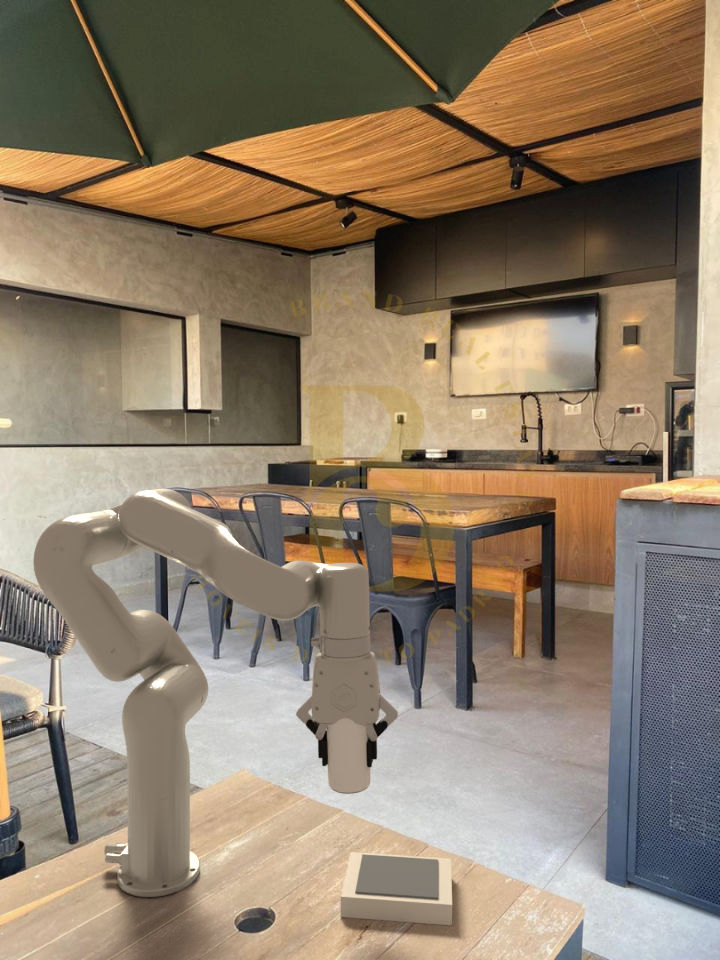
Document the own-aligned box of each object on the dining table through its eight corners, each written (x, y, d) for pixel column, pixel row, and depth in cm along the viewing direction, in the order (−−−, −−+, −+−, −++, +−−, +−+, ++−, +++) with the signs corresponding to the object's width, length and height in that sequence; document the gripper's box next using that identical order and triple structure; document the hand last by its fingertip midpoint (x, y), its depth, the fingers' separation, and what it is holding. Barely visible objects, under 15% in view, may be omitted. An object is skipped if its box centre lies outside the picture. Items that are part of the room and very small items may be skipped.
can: (366, 796, 107) (364, 715, 107) (323, 793, 109) (321, 713, 108) (374, 777, 114) (372, 700, 113) (333, 774, 115) (331, 699, 115)
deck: (340, 916, 106) (340, 894, 106) (350, 870, 118) (350, 850, 118) (451, 925, 104) (452, 902, 104) (450, 877, 116) (450, 856, 116)
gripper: (284, 651, 108) (287, 772, 108) (401, 652, 106) (403, 775, 106) (294, 639, 115) (296, 751, 116) (403, 639, 113) (405, 754, 114)
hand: (347, 761), depth 111 cm, fingers closed on can, 6 cm apart
